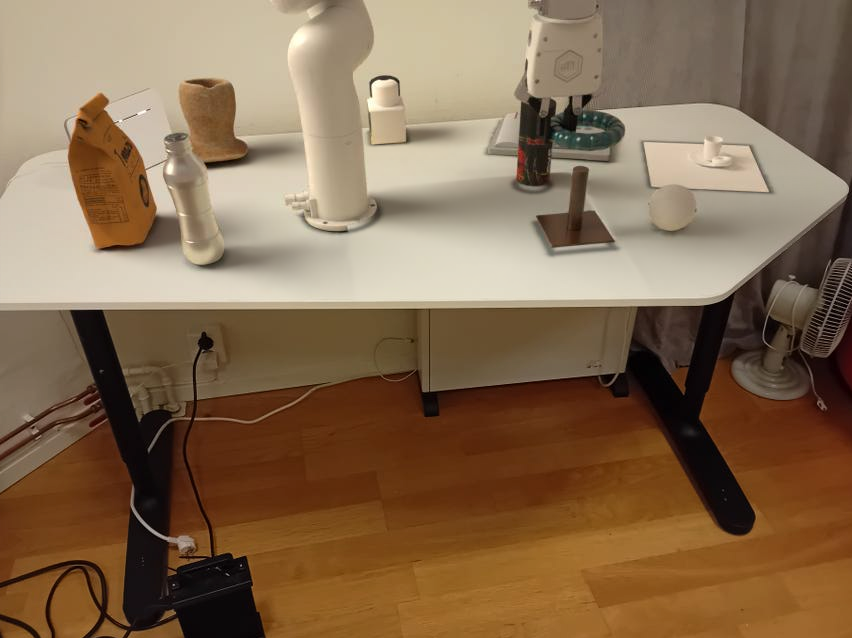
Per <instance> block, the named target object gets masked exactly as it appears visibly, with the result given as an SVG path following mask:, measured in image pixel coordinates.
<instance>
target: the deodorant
mask: <svg viewBox="0 0 852 638" xmlns="http://www.w3.org/2000/svg"><path fill="white" fill-rule="evenodd" d="M519 113H520V127H519V144H518V155H517V161H516V176H515V177H516V181H517V183H519V184H521V185H522V186H527V187H541V186H545V185H546V184H548V183H549V182H550V178H551V168H552V167H551V166H552V158H553V157H552V147H553V142H552V141H550V140H549V143H548V144H544V143H543V142H542V140H541V139H540V137H538V136H537V132H536V130H537V116H538V113H537V112H536V111H535V110H534V109H533V108H532V107H531V106H530V105H529V104H527V103H524V102H522V101H520V112H519ZM555 114H557V101H556V100H555V99H554V98H552V97H551V98H550V104H549V116H550V117H551V118H552V117H553V116H555Z"/></svg>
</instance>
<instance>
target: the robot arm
mask: <svg viewBox="0 0 852 638" xmlns="http://www.w3.org/2000/svg"><path fill="white" fill-rule="evenodd" d="M268 1H269V3H270V4H271V5H272V6H273V8H274V9H276V10H277V11H279V12H280V13H283V14H285V15H299V14H301V13H305V12H306V13H307V15H308V18H309V20H307V21H306V22H304V23H303V24H302V25H301V26H300V27H299V28H298V29H297V30H296V31H295V33H294V34H293V36H292V38H291V39H290V42H289V45H288V48H287V66H288V70H289V74H290V78H291V81H292V85H293V87H294V91H295V95H296V100H297V104H298V109H299V116H300V124H301V130H302V138H303V144H304V153H305V160H306V167H307V174H308V181H309V184H308V190H303V192H302V193H285V194H284V202H285V206H286V207H291V208H292V209H291V210H292V211H301V210H303V214H304V220H305V221H306V222H307V223H308V224H309V225H310V226H312V227H313V228H316V229H319V230H323V231H328V232H329V231H330V232H344V231H345V232H347V231H349V230H348V229H349V228H348V226H351V225H356V224H358V223H361V222H364V221H366V220H368V219H369V218H371V217H372V216H373V215H374V214H375V213H376V212H377V209H378V205H377V202H376V200H375V199H374V198H373V197H371V196H369V195H368V185H367V184H368V183H367V173H366V171H367V170H366V161H365V160H366V159H365V147H364V135H363V134H364V133H363V122H362V113H361V112H362V111H361V105H360V99H359V96H358V92H357V90H356V86H355V82H354V73H355V71H356V70H357V69H358V68H359V67H361V65H362V64H363V63H364V62H365V61H366V60H367V59H368V57H369V56H370V54H371V52H372V50H373V47H374V43H375V32H374V27H373V22H372V20H371V17H370V14H369V11H368V9H367V7H366V4H365V2H364V0H268ZM597 3H598V0H527V8H528V9H529V10H531V9H533V10H536V12H537V13H535V14H534V15H533V16H532V20H531V22H530V23H531V24H530V28H529V33H528V36H527V42H526V47H525V55H524V56H525V57H524V63H523V73H522V74H523V75H522V77H521V79H520V80H519V83H518V84H517V86H516V88H515V90H514V92H513V95H514V97H515V99H516V100H518V101H520V102H521V101H522V102H524V103H527V104H529V105H530V106H531V107H532V108H533V109H534V110H535V111H536V112H537V113H538V116H537V130H536V132H537V136H538V137H540V139H541V140H542V142H543V143H544V144H548V143H549V140H550V128H551V117H550V116H549V104H550V98H551V99H552V98H562V97H567V106H566V107H565V108H564V109H563V112H564V114H563V124H562V128H564V129H566V130H569V131H573V132H576V127H577V117H578V114H580V113H581V111H582V110H583V109H584V108H585V107H586V106H587V105H588V104H589V102H591V100H592V99H595V98H597V97H598V96H599V97H600V95H602V94H604V93H605V92H606V87H605V84H604V80H603V78H602V73H603V58H604V57H603V56H604V54H603V53H604V28H603V27H604V26H603V16H602V14H600V13H598V12H597V5H598V4H597ZM371 205H372V206H371Z"/></svg>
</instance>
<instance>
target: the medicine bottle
mask: <svg viewBox="0 0 852 638" xmlns="http://www.w3.org/2000/svg"><path fill="white" fill-rule="evenodd" d="M368 85H369V97H368V98H367V99H366V103H367V105H366V106H367V115H368V118H367V119H368V127H369V128H368V131H369V138H370V142H371V145H382V144H397V143H398V144H399V143H406V142H407V128H406V127H407V124H406V108H405V104H404V102H403V97H402V96H401V83H400V80H399V78H398V77H395V76H393V75H390V74H389V75H388V74H384V75H377V76H375V77H372V78H371V79H370V81H369V82H368Z"/></svg>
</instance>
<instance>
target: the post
mask: <svg viewBox="0 0 852 638" xmlns="http://www.w3.org/2000/svg"><path fill="white" fill-rule="evenodd" d="M589 173H590V168H589V167H588V166H584V165H576V166H574V167H573V168H572V173H571V174H572V176H571V184H570V193H569V194H570V195H569V200H568V201H569V202H568V211H567V212H559V213H549V214H538V215H537V214H536V215H535V218H536V220H537V222H538V224H539V226H540V228H541V231H542V232H543V234H544V236H545V238H546V239H547V241H548V243H549V245H550V247H551V249H554V248H563V247H575V246H576V247H577V246H586V245H597V244H606V243H607V244H608V243H609V244H610V243H615V239H614V238H613V236H612V234H611V233H610V231H609V229H608V228H607V226H606V225H605V224H604V222H603V221H602V219H601V218H600V216H599V214H598V213H597V212H596V210H593V209H591V210H585V206H586V197H587V189H588V181H589Z"/></svg>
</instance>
